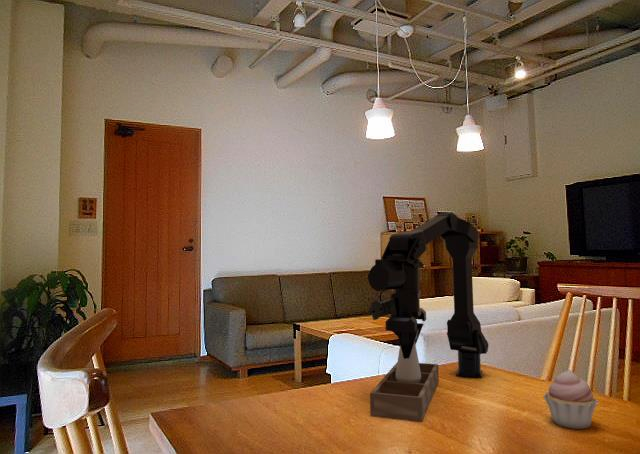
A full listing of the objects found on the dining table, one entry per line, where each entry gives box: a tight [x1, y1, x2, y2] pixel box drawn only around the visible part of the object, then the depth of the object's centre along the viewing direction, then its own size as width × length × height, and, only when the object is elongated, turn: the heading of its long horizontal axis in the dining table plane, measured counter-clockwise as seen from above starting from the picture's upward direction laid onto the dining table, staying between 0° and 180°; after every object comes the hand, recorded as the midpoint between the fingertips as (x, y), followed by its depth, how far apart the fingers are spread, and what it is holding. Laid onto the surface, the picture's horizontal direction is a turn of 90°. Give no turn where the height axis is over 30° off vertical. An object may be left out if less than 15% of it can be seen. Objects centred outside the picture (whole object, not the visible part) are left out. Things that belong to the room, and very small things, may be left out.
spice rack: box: [369, 362, 440, 423], centre depth 107 cm, size 29×10×4 cm, turn 160°
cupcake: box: [543, 369, 599, 430], centre depth 90 cm, size 9×9×10 cm
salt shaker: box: [396, 337, 421, 383], centre depth 107 cm, size 6×6×13 cm
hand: (407, 357), depth 107 cm, fingers closed on salt shaker, 3 cm apart
